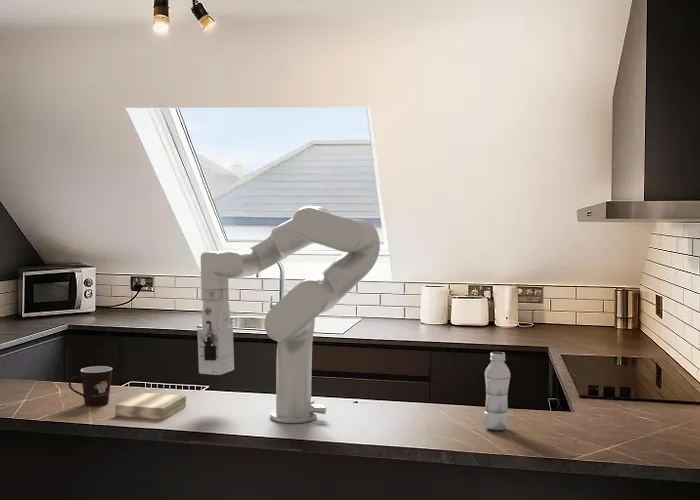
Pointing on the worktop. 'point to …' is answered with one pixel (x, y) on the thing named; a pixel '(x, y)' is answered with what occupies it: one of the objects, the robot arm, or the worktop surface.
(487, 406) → the plastic bottle
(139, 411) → the block
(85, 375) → the coffee mug
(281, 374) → the robot arm
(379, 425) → the worktop surface
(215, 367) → the supplement box
